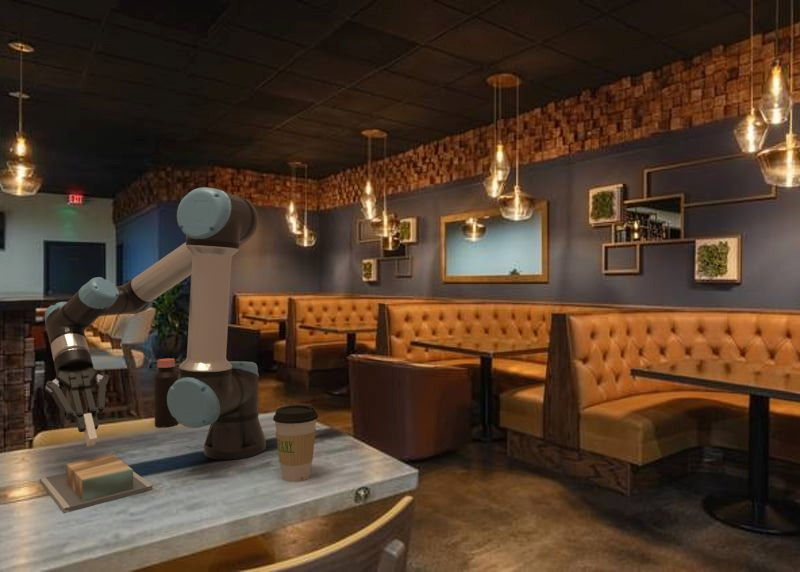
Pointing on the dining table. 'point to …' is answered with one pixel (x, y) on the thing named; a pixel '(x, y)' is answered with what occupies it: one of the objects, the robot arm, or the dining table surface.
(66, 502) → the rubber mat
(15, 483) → the dining table surface
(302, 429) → the coffee cup
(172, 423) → the bottle
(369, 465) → the dining table surface
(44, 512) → the dining table surface
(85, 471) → the oak slab
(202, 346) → the robot arm
